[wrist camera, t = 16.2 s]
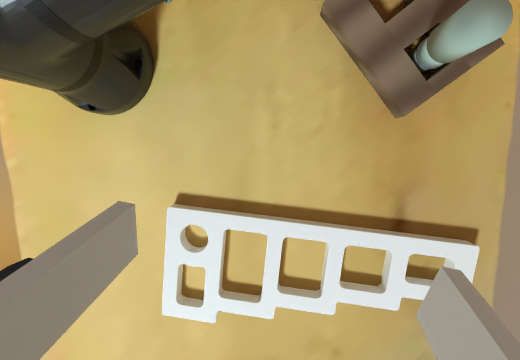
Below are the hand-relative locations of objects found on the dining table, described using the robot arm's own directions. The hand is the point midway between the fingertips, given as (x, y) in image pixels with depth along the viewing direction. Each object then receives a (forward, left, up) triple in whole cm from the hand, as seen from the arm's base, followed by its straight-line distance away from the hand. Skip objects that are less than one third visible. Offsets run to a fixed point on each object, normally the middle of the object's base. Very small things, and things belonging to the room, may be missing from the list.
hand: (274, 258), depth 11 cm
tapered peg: (-2, +25, -29) cm, 38 cm away
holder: (+15, -6, -30) cm, 34 cm away
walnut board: (-6, +25, -29) cm, 39 cm away
